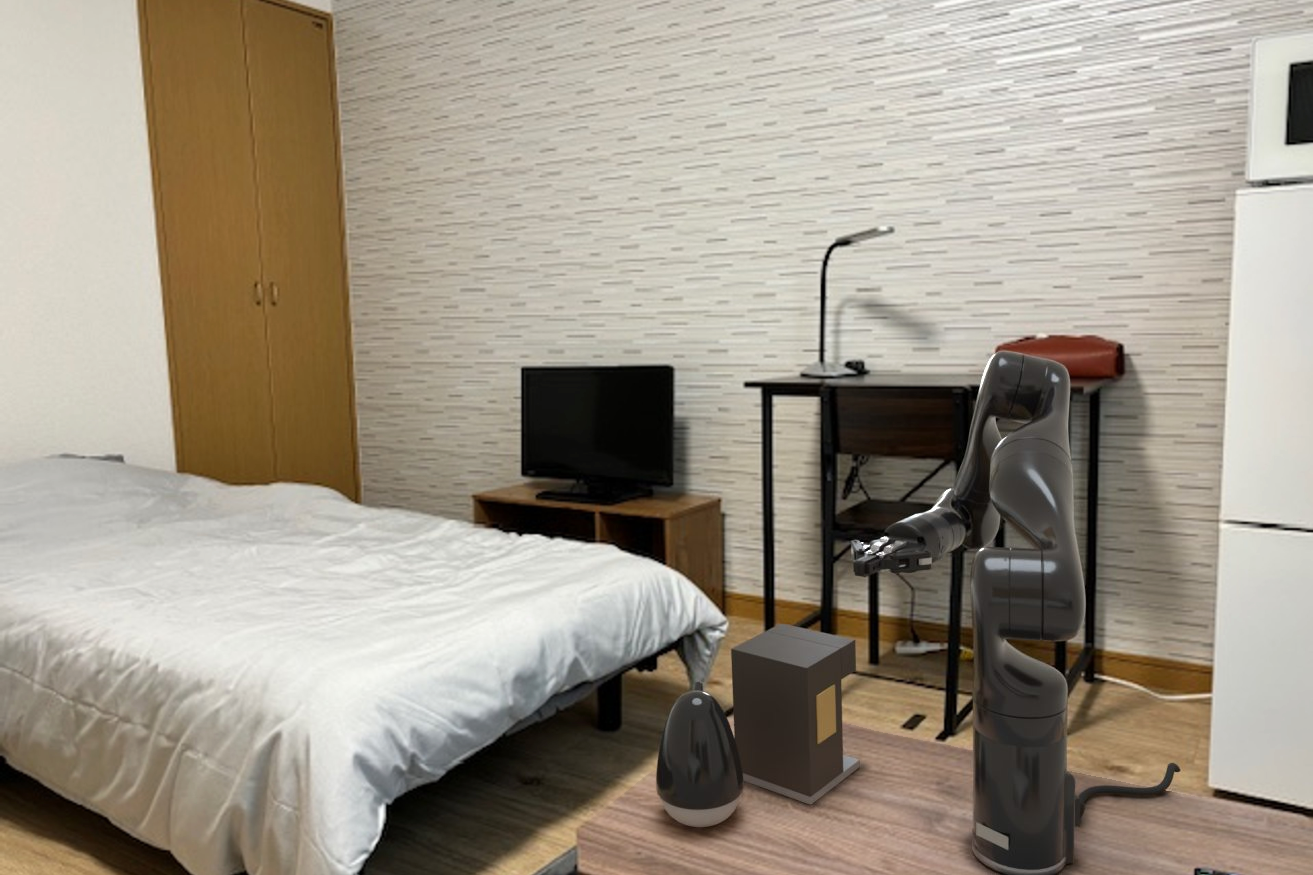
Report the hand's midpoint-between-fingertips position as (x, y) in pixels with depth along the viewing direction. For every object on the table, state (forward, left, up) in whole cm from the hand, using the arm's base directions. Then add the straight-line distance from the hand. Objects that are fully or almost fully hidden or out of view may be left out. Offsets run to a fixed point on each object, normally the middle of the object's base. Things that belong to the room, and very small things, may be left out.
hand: (859, 569), depth 133 cm
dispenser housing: (+12, +11, -22) cm, 28 cm away
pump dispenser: (+26, +17, -23) cm, 39 cm away
